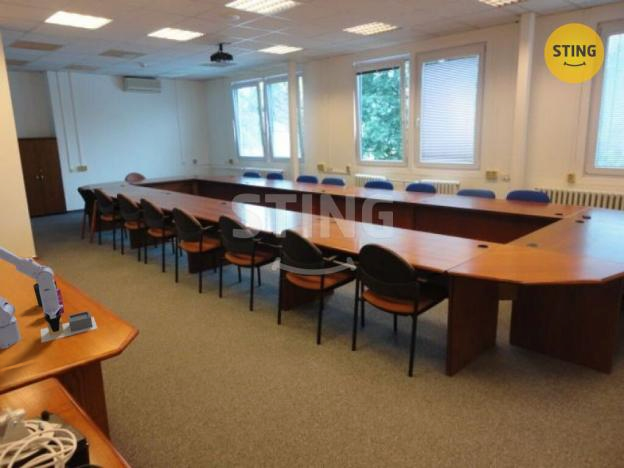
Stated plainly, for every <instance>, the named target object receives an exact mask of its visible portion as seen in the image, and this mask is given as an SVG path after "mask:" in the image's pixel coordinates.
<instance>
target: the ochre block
mask: <svg viewBox="0 0 624 468" xmlns="http://www.w3.org/2000/svg"><path fill="white" fill-rule="evenodd" d="M62 320H63V319H62V317H61V318H60V323H59V331H57V332H53V331H52V329H51V326H50V324H49V323H48V322H47V321H46V324H47V328H48V330H49V335H50V336H52V335H56V334H60V333H63V332H64V330H63V325H62V324H63V321H62Z"/></svg>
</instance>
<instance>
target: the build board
mask: <svg viewBox="0 0 624 468" xmlns="http://www.w3.org/2000/svg"><path fill="white" fill-rule="evenodd" d="M91 320H92V325H93V327H89V328H85V329H81V330H77V331H73V332H71V329H70V325H69V322H65V323H62V325H63V330H64V332H63V333H60V334H56V335H52V336H50V335H49V330H48V327H44V328H40V342H41V344H42V343H45V342H49V341H53V340H57V339H60V338H65V337H69V336H72V335H76V334H81V333H85V332H88V331H93V330H97V329H98V325H97V323H96V321H95V317H94V316H91Z"/></svg>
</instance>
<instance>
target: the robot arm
mask: <svg viewBox="0 0 624 468" xmlns="http://www.w3.org/2000/svg"><path fill="white" fill-rule="evenodd" d="M0 259H1V260H3V261H5V262H7V263H8V264H10V265H13V266H15V269H16V271H18V272H19V273H21V274H24V275H25V276H27V277H29V278H31V279H35V282H36V283H38V284H39V291H40V296H41V301H42V305H43V306H42V312H43V314H44V313H45V314H46V315H47V316H46V317H45V316H44V319H45V321H46V323H47V322H48V323H49V324H50V326H51V329H52V331H53V332H57V331H59V323H60V318H61V319H62V313H61V314H59V312H60V308H64V304H63V305H59V301H58V295H57V290H56V286H55V282H54V281H55V279H54V276H55V272H54V270H53V269H52V268H51V267H50V266H45V265H44V264H42V265H41V264H39V263H38V262H37V261H34V258H32V257H30V258H28V257H19V256H18V255H16V254H15V253H13V252H11V251H10V250H8V249H6V248H5V247H3V246H2V245H0ZM15 312H16V308H15V306H14V305H13V304H12V303H10V302H8V300H7V299H6V298H5V297H2V296H1V295H0V349H4V350H5V349H8V348H10V347H11V346H13V345H15V344H17V343H19V342H20V341H21V340H22V339H21V333H20V330H19V325H18V320H17V317H15V316H14V315H15Z"/></svg>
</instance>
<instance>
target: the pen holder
mask: <svg viewBox="0 0 624 468" xmlns="http://www.w3.org/2000/svg"><path fill="white" fill-rule="evenodd" d="M54 282H55V286H56V289H58V285H57V281H56V280H54ZM32 287H33V290H34V293H35V298H36V301H37V304H38V306H39V307H43V305H42V301H41V296H40V291H39V284H38V283H37V282H36V283H34V284H33V286H32Z"/></svg>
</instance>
